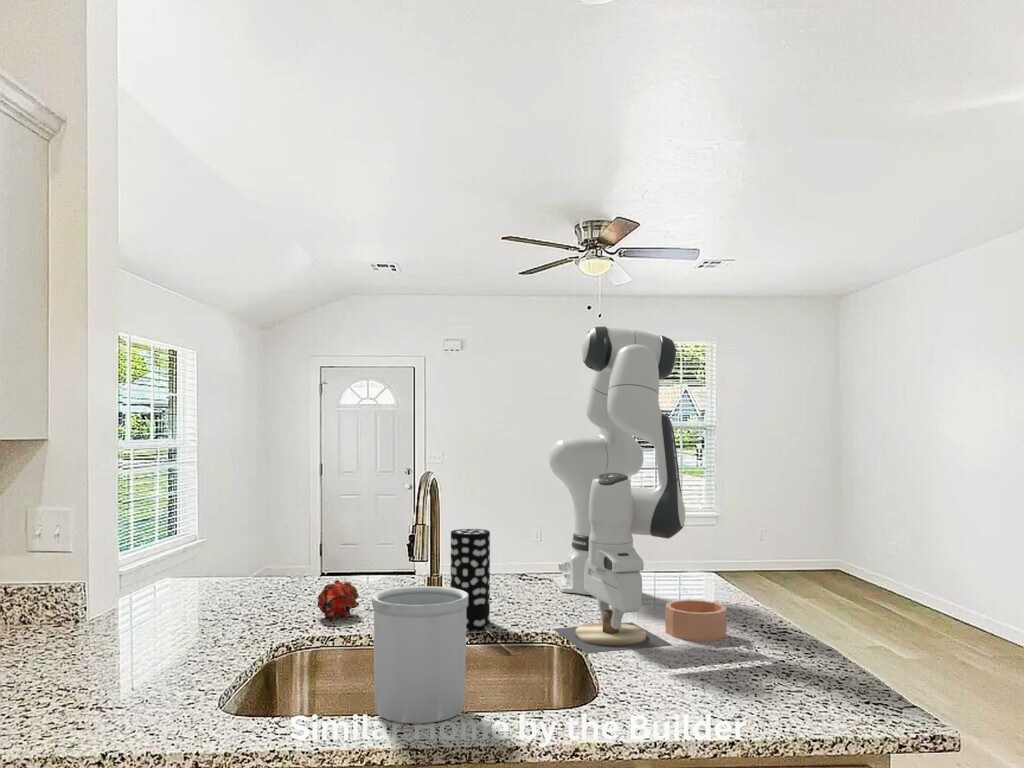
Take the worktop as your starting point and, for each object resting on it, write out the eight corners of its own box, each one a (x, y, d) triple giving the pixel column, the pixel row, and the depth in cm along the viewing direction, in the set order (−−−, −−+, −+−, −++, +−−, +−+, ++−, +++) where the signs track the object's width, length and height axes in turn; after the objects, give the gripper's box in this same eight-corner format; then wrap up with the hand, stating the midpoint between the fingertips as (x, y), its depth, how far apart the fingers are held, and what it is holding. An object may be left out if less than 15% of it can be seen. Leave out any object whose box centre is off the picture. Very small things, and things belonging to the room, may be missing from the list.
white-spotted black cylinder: (484, 632, 175) (484, 535, 176) (445, 630, 177) (446, 533, 178) (493, 622, 184) (493, 529, 184) (456, 620, 185) (456, 528, 186)
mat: (552, 632, 175) (552, 628, 175) (631, 626, 181) (631, 622, 181) (586, 657, 158) (586, 652, 158) (672, 649, 164) (672, 645, 164)
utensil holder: (376, 692, 138) (376, 584, 139) (467, 691, 139) (468, 583, 140) (365, 727, 124) (366, 606, 124) (468, 725, 125) (468, 604, 125)
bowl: (655, 630, 177) (655, 602, 177) (706, 626, 181) (706, 598, 181) (684, 646, 166) (684, 615, 166) (737, 641, 169) (737, 611, 169)
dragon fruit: (354, 617, 194) (329, 638, 183) (325, 594, 195) (299, 613, 184) (372, 589, 192) (348, 609, 180) (343, 566, 193) (317, 584, 182)
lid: (565, 630, 174) (565, 605, 174) (627, 625, 178) (627, 601, 179) (592, 649, 161) (592, 622, 161) (658, 643, 165) (658, 617, 165)
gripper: (576, 547, 179) (576, 613, 179) (617, 565, 160) (617, 639, 159) (604, 546, 181) (604, 611, 181) (648, 563, 161) (648, 636, 161)
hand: (610, 625), depth 170 cm, fingers closed on lid, 3 cm apart
